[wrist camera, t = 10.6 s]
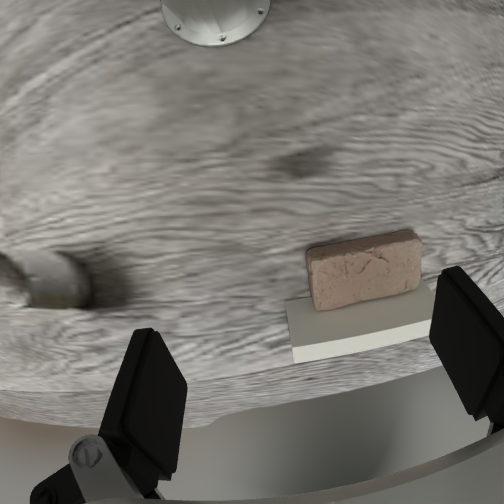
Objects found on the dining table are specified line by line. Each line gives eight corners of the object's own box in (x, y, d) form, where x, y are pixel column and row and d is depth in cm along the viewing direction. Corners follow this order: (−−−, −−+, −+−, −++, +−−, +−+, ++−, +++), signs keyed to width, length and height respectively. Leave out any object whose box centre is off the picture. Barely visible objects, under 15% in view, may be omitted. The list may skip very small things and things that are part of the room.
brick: (412, 226, 43) (427, 239, 38) (410, 274, 46) (422, 291, 42) (303, 245, 44) (308, 262, 40) (309, 295, 48) (314, 314, 44)
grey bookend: (285, 300, 48) (292, 347, 39) (420, 276, 46) (448, 314, 37) (290, 337, 51) (296, 384, 42) (415, 313, 49) (438, 352, 41)
